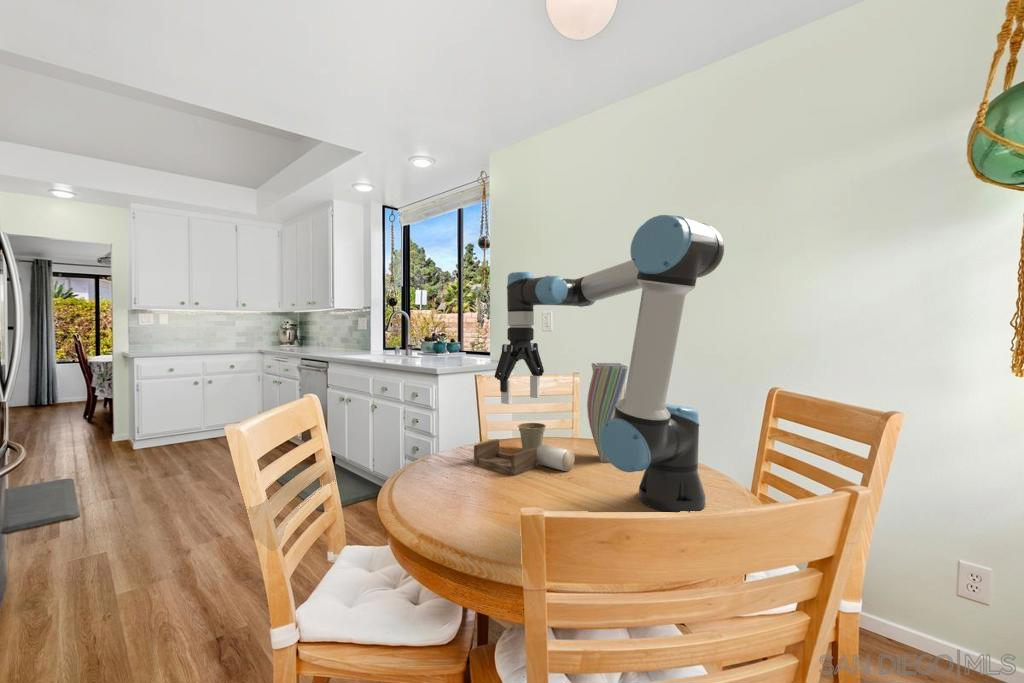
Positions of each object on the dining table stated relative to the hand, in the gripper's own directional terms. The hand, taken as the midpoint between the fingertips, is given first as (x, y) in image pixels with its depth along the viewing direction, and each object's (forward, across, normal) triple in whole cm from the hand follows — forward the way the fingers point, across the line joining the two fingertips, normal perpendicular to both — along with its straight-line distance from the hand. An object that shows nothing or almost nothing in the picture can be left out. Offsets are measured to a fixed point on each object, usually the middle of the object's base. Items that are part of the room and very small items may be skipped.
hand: (520, 400), depth 133 cm
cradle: (+20, 0, -6) cm, 21 cm away
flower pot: (+20, -18, -9) cm, 29 cm away
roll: (+20, -8, +6) cm, 22 cm away
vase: (+20, -25, +15) cm, 36 cm away
